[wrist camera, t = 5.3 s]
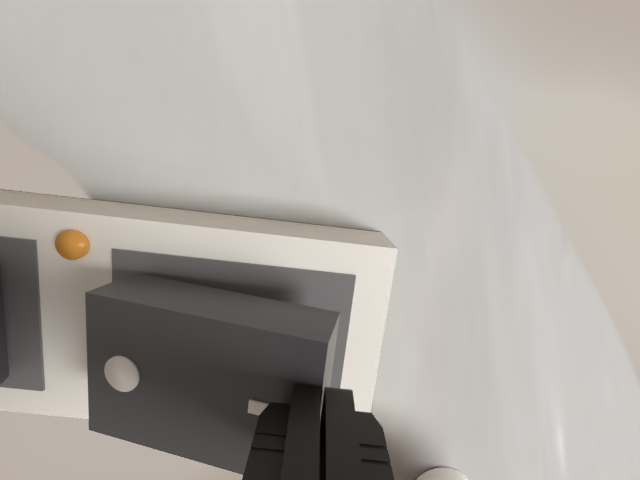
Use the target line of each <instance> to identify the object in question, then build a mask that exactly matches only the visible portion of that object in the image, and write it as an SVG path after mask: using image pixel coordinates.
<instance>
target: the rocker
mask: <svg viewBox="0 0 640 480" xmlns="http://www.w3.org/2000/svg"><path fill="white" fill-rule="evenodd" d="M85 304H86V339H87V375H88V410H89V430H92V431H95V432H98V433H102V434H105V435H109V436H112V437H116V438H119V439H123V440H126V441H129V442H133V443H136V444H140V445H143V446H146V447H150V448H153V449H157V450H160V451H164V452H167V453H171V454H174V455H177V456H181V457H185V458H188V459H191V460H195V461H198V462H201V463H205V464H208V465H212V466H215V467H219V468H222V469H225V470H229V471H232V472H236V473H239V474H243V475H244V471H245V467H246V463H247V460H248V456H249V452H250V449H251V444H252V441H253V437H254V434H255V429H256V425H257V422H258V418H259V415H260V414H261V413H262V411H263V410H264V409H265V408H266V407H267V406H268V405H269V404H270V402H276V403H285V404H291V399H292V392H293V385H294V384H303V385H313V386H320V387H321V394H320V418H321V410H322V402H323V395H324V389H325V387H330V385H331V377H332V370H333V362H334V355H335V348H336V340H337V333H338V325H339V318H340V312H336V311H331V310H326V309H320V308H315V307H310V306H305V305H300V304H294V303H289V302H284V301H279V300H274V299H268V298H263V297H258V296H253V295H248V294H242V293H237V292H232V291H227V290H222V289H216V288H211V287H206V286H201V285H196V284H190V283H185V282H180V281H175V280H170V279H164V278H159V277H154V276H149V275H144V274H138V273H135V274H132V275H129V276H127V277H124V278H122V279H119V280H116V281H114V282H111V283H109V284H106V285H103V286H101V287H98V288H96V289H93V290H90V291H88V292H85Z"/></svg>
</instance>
